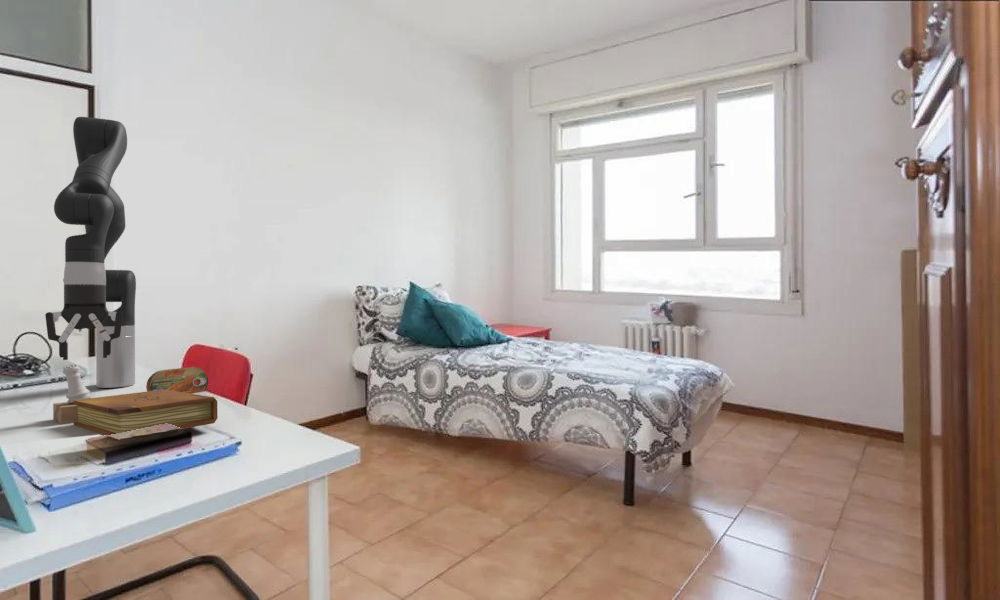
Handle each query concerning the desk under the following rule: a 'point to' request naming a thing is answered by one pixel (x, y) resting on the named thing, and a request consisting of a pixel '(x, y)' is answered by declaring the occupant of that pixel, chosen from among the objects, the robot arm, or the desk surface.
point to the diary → (145, 411)
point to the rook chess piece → (75, 384)
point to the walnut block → (65, 413)
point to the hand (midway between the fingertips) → (85, 358)
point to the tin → (179, 380)
